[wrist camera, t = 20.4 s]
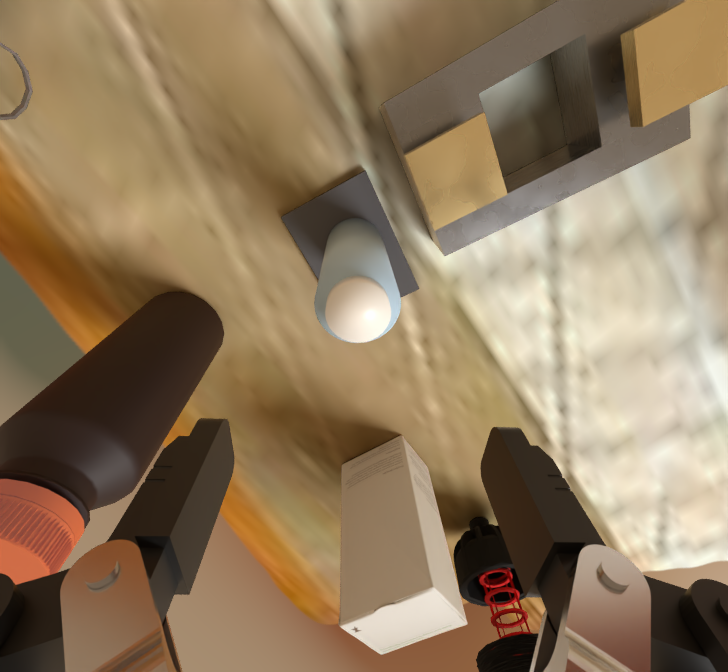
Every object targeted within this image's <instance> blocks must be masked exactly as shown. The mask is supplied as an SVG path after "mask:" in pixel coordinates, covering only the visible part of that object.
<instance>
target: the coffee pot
mask: <svg viewBox="0 0 728 672" xmlns="http://www.w3.org/2000/svg"><path fill="white" fill-rule="evenodd" d="M0 46H1V47H3V48H4V49H6V50H7V51H9V52H10V53H12V55H13V56H14V58H15V60H16V61H17V63H18V65H19V66H20V68H21V70H22V73H23V78H24V82H25V86H26V90H25V93H24V96H23V99H22V101H21V104H20V105H19V106H18V107H17V108H16V109H15V110H14V111H13V112H12V113H11V114H2V115H0V120H7V119H16V118H17V117H18V116H19V115H20V114H21V113H22V112H23V111H24V110H25V109H26V108H27V106H28V103H29V100H30V98H31V95H32V92H33V91H32V86H31V82H30V77H29V73H28V70H27V69H26V67H25V66H24V64H23V62H22V61H21V59H20V57H19V56H18V54H17V53H16V52H14V51H12V50H11V49H9V48H8V47H6V46H5V45H3V44H2V43H0Z"/></svg>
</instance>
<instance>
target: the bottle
mask: <svg viewBox="0 0 728 672" xmlns="http://www.w3.org/2000/svg"><path fill="white" fill-rule="evenodd" d="M223 336H224V330H223V326H222V322H221V320H220V318H219V316H218V315H217V313H216V311H215V310H214V309H213V308H212V307H211V306H210V305H208V304H207V303H206V302H205V301H203V300H201V299H199V298H198V297H196V296H194V295H190V294H186V293H183V292H167V293H164V294H161V295H158V296H155V297H154V298H153V299H151V300H150V301H149V302H148V303H147V304H145V305H144V306H143V307H142V308H141V309H139V310H138V311H137V312H136V313H135V314H133V315H132V316H131V317H130V318H129V319H128V320H126V321H125V322H124V323H123V324H122V325H120V326H119V327H118V328H117V329H116V330H114V331H113V332H112V333H111V334H110V335H108V336H107V337H106V338H105V339H104V340H102V341H101V342H100V343H99V344H98V345H96V346H95V347H94V348H93V349H92V350H91V351H89V352H88V353H87V354H86V355H85V356H83V357H82V358H81V359H80V360H79V361H77V362H76V363H75V364H74V365H73V366H71V367H70V368H69V369H68V370H67V371H65V372H64V373H63V374H62V375H61V376H60V377H58V378H57V379H56V380H55V381H54V382H52V383H51V384H50V385H49V386H48V387H46V388H45V389H44V390H43V391H42V392H40V393H39V394H38V395H37V396H36V397H35V398H33V399H32V400H31V401H30V402H28V403H27V404H26V405H25V406H24V407H23V408H21V409H20V410H19V411H18V412H16V413H15V414H14V415H13V416H12V417H11V418H9V419H8V420H7V421H6V422H5V423H3V424H2V425H1V426H0V573H2V574H5V575H7V576H9V577H10V578H11V579H12V581H13V582H14V583H15V585H17V584H20V583H24V582H27V581H31V580H34V579H38V578H41V577H44V576H48V575H51V574H55V573H58V571H59V570H60V568H61V567H62V565H63V564H64V562H65V561H66V559H67V558H68V556H69V555H70V553H71V551H72V550H73V548H74V546H75V545H76V544H77V542H78V541H79V539H80V537H81V536H82V534H83V532H84V529H85V528H86V526H87V524H88V523H89V521H90V512H89V511H90V510H93V509H97V508H100V507H103V506H106V505H109V504H113V503H115V502H117V501H119V500H120V499H122V498H124V497H125V496H127V495H128V494H130V493H131V492H132V491H133V490H134V489H135V487H136V486H137V484H138V482H139V481H140V479H141V478H142V476H143V475H144V473H145V471H146V469H147V468H148V466H149V465H150V463H151V461H152V460H153V458H154V456H155V455H156V453H157V451H158V450H159V448H160V446H161V445H162V443H163V441H164V440H165V438H166V436H167V435H168V433H169V431H170V430H171V428H172V426H173V425H174V423H175V421H176V420H177V418H178V416H179V415H180V413H181V411H182V410H183V408H184V407H185V405H186V403H187V402H188V400H189V398H190V397H191V395H192V393H193V392H194V390H195V388H196V387H197V385H198V383H199V382H200V380H201V378H202V377H203V375H204V373H205V372H206V370H207V368H208V367H209V365H210V363H211V362H212V360H213V358H214V357H215V355H216V353H217V352H218V350H219V348H220V347H221V345H222V342H223Z"/></svg>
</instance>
